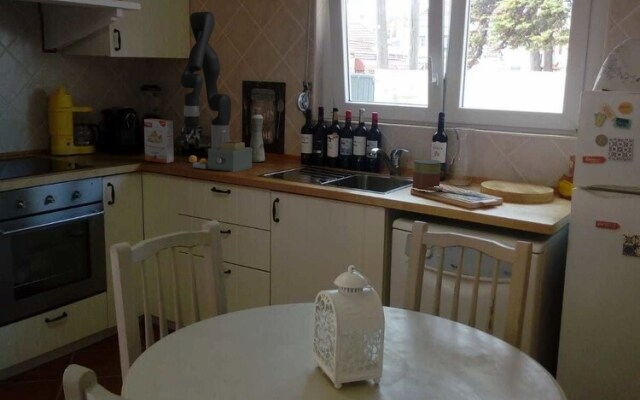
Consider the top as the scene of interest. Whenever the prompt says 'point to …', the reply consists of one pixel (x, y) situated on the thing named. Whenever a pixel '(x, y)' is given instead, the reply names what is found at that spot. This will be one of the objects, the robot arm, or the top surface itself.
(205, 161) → the bead
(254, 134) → the bottle
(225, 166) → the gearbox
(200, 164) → the bead dish
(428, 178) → the canned food
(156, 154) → the cracker box
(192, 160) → the bead
